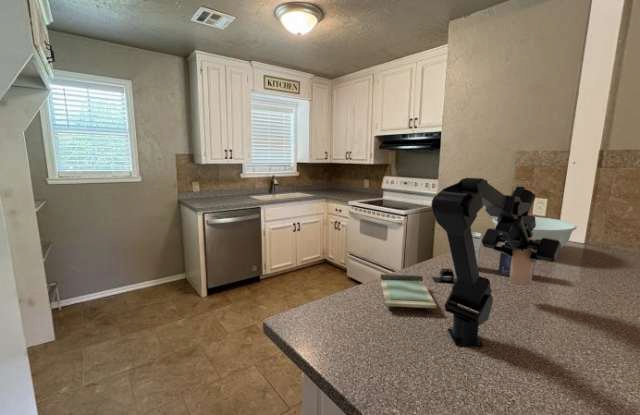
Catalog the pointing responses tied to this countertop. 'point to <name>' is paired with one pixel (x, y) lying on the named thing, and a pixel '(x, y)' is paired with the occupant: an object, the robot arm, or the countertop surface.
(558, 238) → the bowl
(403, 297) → the mint green tray
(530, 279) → the canister
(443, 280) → the dark piece
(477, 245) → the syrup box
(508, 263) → the small box
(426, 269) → the countertop surface
